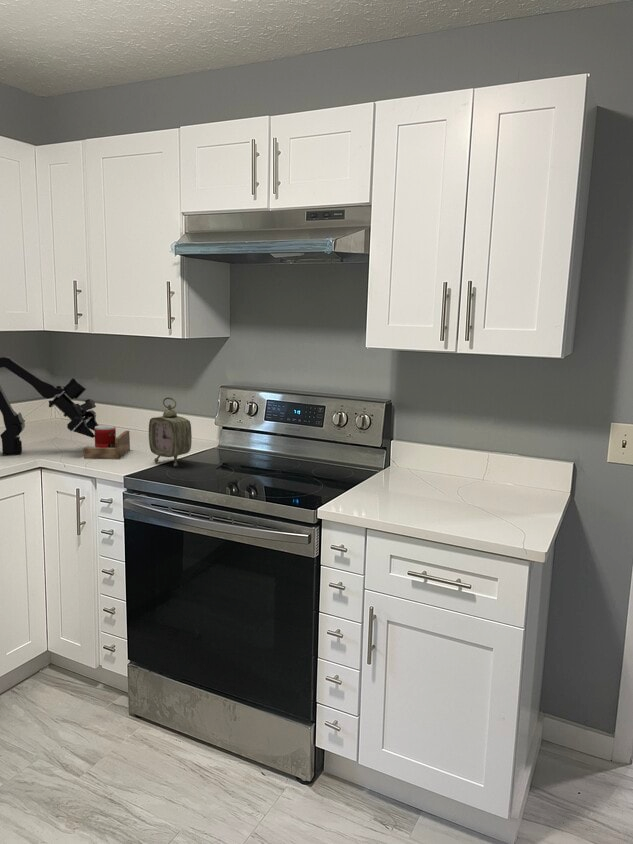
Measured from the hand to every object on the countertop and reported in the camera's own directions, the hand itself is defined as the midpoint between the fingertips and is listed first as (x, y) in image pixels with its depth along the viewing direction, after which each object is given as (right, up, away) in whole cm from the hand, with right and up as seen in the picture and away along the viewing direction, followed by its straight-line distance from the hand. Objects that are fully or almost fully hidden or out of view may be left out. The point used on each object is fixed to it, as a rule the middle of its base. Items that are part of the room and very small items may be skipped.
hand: (97, 434), depth 256 cm
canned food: (+4, -8, -3) cm, 9 cm away
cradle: (+4, -8, -2) cm, 9 cm away
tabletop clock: (+33, -11, -16) cm, 38 cm away
